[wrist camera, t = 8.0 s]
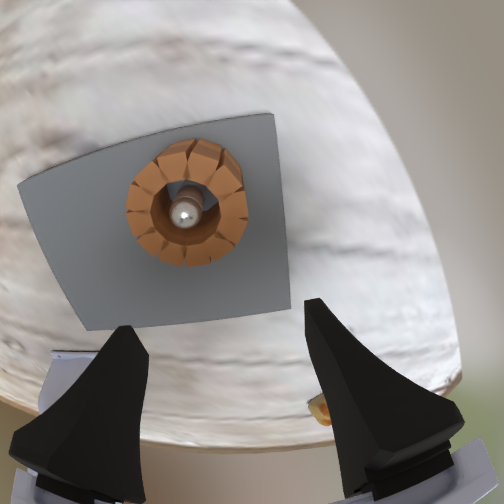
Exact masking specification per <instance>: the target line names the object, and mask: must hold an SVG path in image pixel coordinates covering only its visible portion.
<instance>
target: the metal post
mask: <svg viewBox="0 0 504 504" xmlns="http://www.w3.org/2000/svg"><path fill="white" fill-rule="evenodd" d="M206 192H207V187H206V185H203V184H200V183H197V182H194V181H191V180H188V179H184V181H183V182H182V184H181V186H180V188H179V190H178V192H177V194H176V196H175V198H174V200H173V202H172V205H171V207H170V211H169V215H170V219H171V221H172V222H173V224H174V225H175V226H177V227H179V228H182V229H189V228H192V227H194V226H195V225H197V223H198V222H199V221H200V219H201V216H202V211H203V206H204V201H205V197H206Z"/></svg>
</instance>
